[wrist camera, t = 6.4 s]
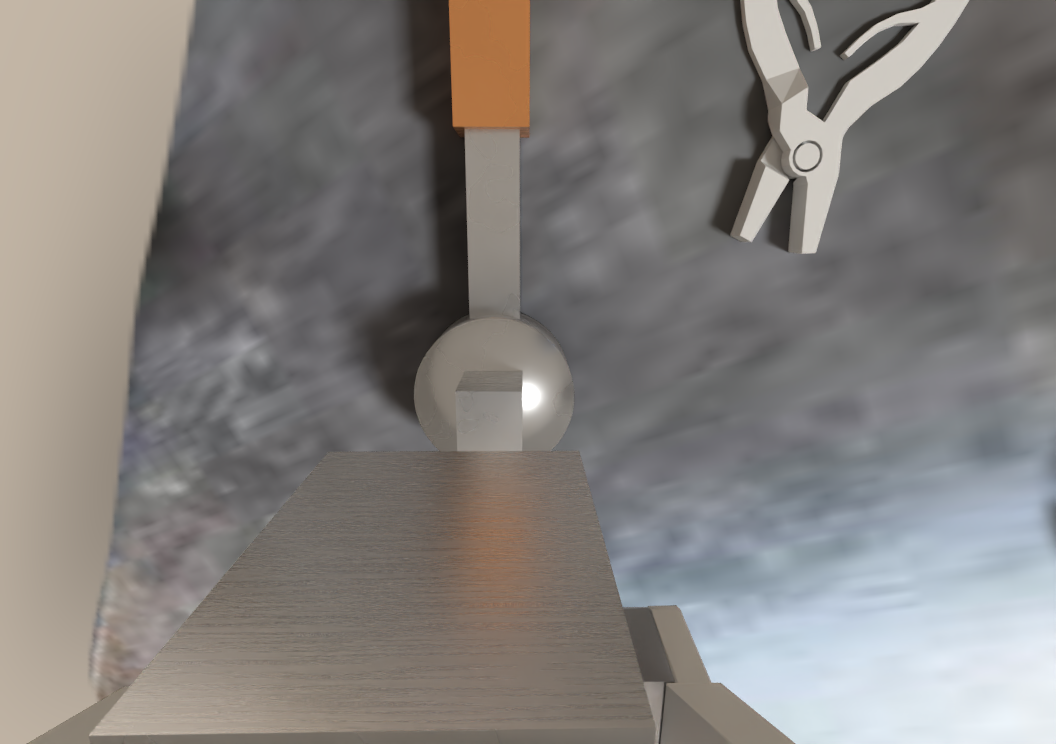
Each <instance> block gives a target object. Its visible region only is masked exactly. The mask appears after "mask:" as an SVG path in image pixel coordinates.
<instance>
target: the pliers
mask: <svg viewBox="0 0 1056 744" xmlns="http://www.w3.org/2000/svg"><path fill="white" fill-rule="evenodd" d="M968 1H969V0H932V1H931V2H930V4H929V5H927V6H925V7H923V8H920V9H916V10H911V11H907V12H903V13H898V14H896V15H894V16H892V17H890V18H888V19H886V20H884V21H882V22H880V23H878V24H876V25H874V26H872V27H871V28H870V29H869V30H867V31H866V32H865V33H864V34H862V35H861V36H860V37H859V38H857V39H856V40H855V41H854V42H853V43H852V44H851V45H850V46H849V47H848V48H847V49H846V50H845V51H844V52H843V53H842V54H841V55H840V57H841V58H842V59H843V60H845V59H847V58H848V57H850V56H851V55H852V54H853V53H854V52H855V51H856V50H857V49H858V48H859V47H860V46H861V45H862V44H863V43H864V42H866V41H867V40H868V39H870V38H871V37H872V36H874V35H875V34H876V33H878V32H880V31H883V30H885V29H887V28H890V27H892V26H913V27H912V28H911V29H910V31H909V32H908V33H907V34H906V35H905V36H904V37H903V39H902V40H901V41H900V42H899V43H898V44H897V45H896V46H895V47H893V48H892V49H891V50H890V51H888V52H887V53H886V54H885V55H883V56H882V57H881V58H879V59H878V60H877V61H876V62H874V63H873V64H871V65H870V66H869V67H867V68H866V69H864V70H863V71H862V72H860V73H859V74H857V75H856V76H855V77H853V78H852V79H850V80H849V81H848V82H846V83H845V85H844V86H843V88H842V89H841V91H840V93H839V94H838V96H837V98H836V99H835V101H834V103H833V104H832V106H831V108H830V109H829V111H828V113H827V114H826V116H825V117H824V119H823V121H822V120H820V119H819V118H817V117H816V116H814V115H813V114H811V113H810V112H809V111H807V110H806V109H807V97H808V85H807V83H806V81H805V79H804V77H803V74H802V72H801V70H800V68H799V65H798V63H797V60H796V58H795V55H794V53H793V50H792V48H791V45H790V42H789V40H788V37H787V35H786V32H785V29H784V26H783V23H782V20H781V17H780V14H779V11H778V5H777V0H740V3H741V14H742V25H743V30H744V34H745V39H746V43H747V48H748V52H749V54H750V56H751V59H752V61H753V63H754V65H755V67H756V69H757V72H758V74H759V76H760V78H761V80H762V83H763V88H764V92H765V97H766V102H767V106H768V124H769V127H770V130H771V133H772V137H771V139H770V141H769V142H768V144H767V146H766V147H765V149H764V151H763V152H762V154H761V156H760V158H759V159H758V161H757V163H756V166H755V169H754V171H753V174H752V177H751V180H750V182H749V185H748V188H747V190H746V193H745V196H744V199H743V201H742V204H741V207H740V210H739V212H738V215H737V218H736V220H735V223H734V226H733V229H732V231H731V234H730V236H732V237H734V238H735V239H737V240H739V241H741V242H752V241H753V239H754V237H755V236H756V234H757V232H758V231H759V229H760V227H761V226H762V224H763V222H764V221H765V219H766V217H767V216H768V214H769V213H770V211H771V209H772V208H773V206H774V204H775V203H776V201H777V199H778V198H779V196H780V194H781V193H782V191H783V190H784V188H785V186H786V185H787V183H788V181H789V179H793V178H797V179H796V180H795V181H794V183H793V198H792V211H791V223H790V236H789V248H788V252H789V253H816V250H817V246H818V243H819V240H820V236H821V233H822V229H823V226H824V223H825V219H826V216H827V212H828V209H829V206H830V202H831V199H832V196H833V192H834V189H835V185H836V182H837V179H838V175H839V167H840V157H841V147H842V138H843V136H844V134H845V132H846V131H847V129H848V128H849V127H850V126H851V125H852V124H853V123H854V122H855V121H856V120H857V119H858V118H859V117H860V116H861V115H862V114H863V113H864V112H865V111H866V110H867V109H868V108H869V107H870V106H871V105H873V104H875V103H876V102H878V101H879V100H881V99H882V98H884V97H885V96H887V95H888V94H890V93H891V92H893V91H895V90H896V89H898V88H899V87H901V86H902V85H903V84H904V83H905V82H906V81H907V80H908V79H909V78H910V77H911V76H912V75H913V74H914V73H915V72H917V71H918V70H919V69H920V68H921V67H922V66H923V64H924V63H925V62H926V61H927V60H928V58H929V57H930V56H931V55H932V54H933V52H934V51H935V50H936V49H937V48H938V46H939V45H940V44H941V42H942V41H943V40H944V38H945V37H946V35H947V34H948V32H949V31H950V30H951V28H952V27H953V25H954V24H955V22H956V21H957V19H958V18H959V16H960V14H961V13H962V11H963V10H964V8H965V6H966V5H967V3H968ZM790 2H791V3H792V4H793V6H794V7H795V9H796V10H797V11H798V13H799V14H800V16H801V19H802V21H803V24H804V27H805V30H806V33H807V37H808V42H809V47H810V52H811V51H815V50H817V49H819V48H820V47H821V43H820V38H819V32H818V27H817V23H816V20H815V17H814V14H813V10H812V7H811V5H810V4H809V2H808V0H790Z"/></svg>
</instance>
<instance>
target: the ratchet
mask: <svg viewBox="0 0 1056 744" xmlns="http://www.w3.org/2000/svg"><path fill="white" fill-rule="evenodd" d="M449 21H450V52H451V84H452V115H453V127H454V129H455V130H456V132H457V133H458V134H459V136H460V137H465V164H466V202H467V239H468V277H469V314H468V315H466V316H464V317H462V318H460V319H459V320H457V321H456V322H454V323H453V324H452V325H451V326H449V327H448V328H447V329H446V330H445V331H444V332H443V334H442V335H441V336H440V337H439V338H438V339H437V341H436V342H435V343H434V344H433V345H432V347H431V348H430V349H429V350H428V352H427V353H426V355H425V356H424V358H423V360H422V362H421V364H420V366H419V368H418V371H417V375H416V378H415V385H414V403H415V410H416V413H417V417H418V420H419V422H420V425H421V427H422V429H423V431H424V432H425V434H426V436H427V437H428V438H429V440H430V441H431V442H432V444H433V445H434V446H435V447H436V448H437V449H438V450H439V451H551V450H552V449H553V448H554V447H555V446H556V445H557V443H558V442H559V441H560V439H561V438H562V437H563V435H564V433H565V431H566V429H567V428H568V425H569V422H570V420H571V417H572V412H573V407H574V386H573V381H572V377H571V373H570V370H569V367H568V363H567V360H566V357H565V354H564V352H563V350H562V348H561V346H560V344H559V342H558V341H557V339H556V338H555V337H554V335H553V334H552V333H551V332H550V331H549V330H548V329H547V328H546V327H545V326H544V325H542V324H541V323H540V322H538V321H537V320H535V319H534V318H532V317H530V316H528V315H526V314H523V313H520V138H529V91H530V0H449Z"/></svg>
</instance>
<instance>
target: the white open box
mask: <svg viewBox="0 0 1056 744" xmlns="http://www.w3.org/2000/svg"><path fill="white" fill-rule="evenodd" d="M655 731H656V726H655V722H654V719H653V715H652V712H651V708H650V704H649V701H648V697H647V694H646V690H645V686H644V683H643V679H642V676H641V672H640V668H639V665H638V661H637V658H636V654H635V650H634V647H633V643H632V640H631V636H630V632H629V629H628V625H627V622H626V618H625V614H624V611H623V607H622V604H621V600H620V596H619V593H618V589H617V586H616V582H615V578H614V575H613V571H612V568H611V564H610V560H609V557H608V553H607V550H606V546H605V542H604V539H603V535H602V532H601V528H600V524H599V521H598V517H597V514H596V510H595V506H594V503H593V499H592V496H591V492H590V488H589V485H588V481H587V478H586V474H585V470H584V467H583V463H582V460H581V456H580V452H579V451H400V452H328V453H327V454H326V455H325V456H324V458H323V459H322V460H321V461H320V462H319V464H318V465H317V466H316V467H315V468H314V469H313V471H312V472H311V473H310V474H309V475H308V477H307V478H306V479H305V480H304V481H303V482H302V484H301V485H300V486H299V487H298V488H297V490H296V491H295V492H294V493H293V494H292V495H291V497H290V498H289V499H288V500H287V501H286V503H285V504H284V505H283V506H282V507H281V508H280V510H279V511H278V512H277V513H276V514H275V516H274V517H273V518H272V519H271V520H270V521H269V523H268V524H267V525H266V526H265V527H264V529H263V530H262V531H261V532H260V533H259V535H258V536H257V537H256V538H255V539H254V540H253V542H252V543H251V544H250V545H249V546H248V548H247V549H246V550H245V551H244V552H243V553H242V555H241V556H240V557H239V558H238V559H237V561H236V562H235V563H234V564H233V565H232V566H231V568H230V569H229V570H228V571H227V572H226V574H225V575H224V576H223V577H222V578H221V579H220V581H219V582H218V583H217V584H216V585H215V587H214V588H213V589H212V590H211V591H210V592H209V594H208V595H207V596H206V597H205V598H204V600H203V601H202V602H201V603H200V604H199V605H198V607H197V608H196V609H195V610H194V611H193V613H192V614H191V615H190V616H189V617H188V618H187V620H186V621H185V622H184V623H183V624H182V626H181V627H180V628H179V629H178V630H177V631H176V633H175V634H174V635H173V636H172V637H171V639H170V640H169V641H168V642H167V643H166V644H165V646H164V647H163V648H162V649H161V650H160V652H159V653H158V654H157V655H156V656H155V657H154V659H153V660H152V661H151V662H150V663H149V665H148V666H147V667H146V668H145V669H144V670H143V672H142V673H141V674H140V675H139V676H138V678H137V679H136V680H135V681H134V682H133V683H132V685H131V686H130V687H129V688H128V689H127V691H126V692H125V693H124V694H123V695H122V697H121V698H120V699H119V700H118V701H117V702H116V704H115V705H114V706H113V707H112V708H111V710H110V711H109V712H108V713H107V714H106V715H105V717H104V718H103V719H102V720H101V721H100V723H99V724H98V725H97V726H96V727H95V728H94V730H93V731H92V732H91V733H90V734H89V740H90V743H91V744H654V742H655Z"/></svg>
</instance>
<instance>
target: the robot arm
mask: <svg viewBox="0 0 1056 744" xmlns="http://www.w3.org/2000/svg"><path fill="white" fill-rule="evenodd" d="M623 611H624V614H625V618H626V622H627V625H628V629H629V632H630V636H631V640H632V643H633V647H634V650H635V654H636V658H637V661H638V665H639V668H640V672H641V676H642V679H643V683H644V686H645V690H646V694H647V697H648V701H649V704H650V708H651V712H652V715H653V719H654V722H655V726H656V731H655V742H654V744H795V743H794V742H793V741H792V740H790V739H789V738H788V737H787V736H785V735H784V734H783V733H782V732H781V731H779V730H778V729H777V728H776V727H774V726H773V725H772V724H771V723H769V722H768V721H767V720H766V719H765V718H763V717H762V716H761V715H760V714H758V713H757V712H756V711H755V710H753V709H752V708H751V707H750V706H748V705H747V704H746V703H745V702H744V701H742V700H741V699H740V698H739V697H737V696H736V695H735V694H734V693H732V692H731V691H730V690H729V689H728V688H726V687H725V686H724V685H723V684H721V683H711V681H710V678H709V676H708V673H707V671H706V669H705V666H704V664H703V662H702V659H701V657H700V655H699V652H698V650H697V648H696V645H695V643H694V641H693V638H692V636H691V634H690V631H689V629H688V626H687V624H686V622H685V619H684V617H683V615H682V612H681V610H680V609H679V608H678V607H677V606H676V605H673V606H648V607H623ZM128 688H129V687H123V688H121V689H119V690H118V691H116V692H114V693H112V694H111V695H109V696H107V697H106V698H104V699H102V700H101V701H99V702H97V703H95V704H94V705H92V706H91V707H89V708H87V709H85V710H83V711H82V712H80V713H78V714H77V715H75V716H73V717H72V718H70V719H69V720H66V721H65V722H63V723H61V724H60V725H58V726H56V727H55V728H53V729H51V730H49V731H48V732H46V733H45V734H43V735H41V736H39V737H38V738H36V739H34V740H32V741H31V742H29V743H27V744H91V743H90V740H89V734H90V733H91V732H92V731H93V730H94V728H95V727H96V726H97V725H98V724H99V723H100V721H101V720H102V719H103V718H104V717H105V715H106V714H107V713H108V712H109V711H110V710H111V708H112V707H113V706H114V705H115V704H116V702H117V701H118V700H119V699H120V698H121V697H122V695H123V694H124V693H125V692H126V691H127V689H128Z"/></svg>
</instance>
